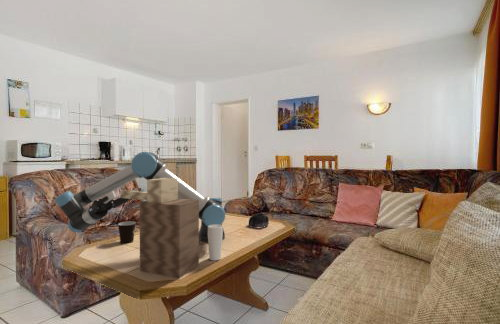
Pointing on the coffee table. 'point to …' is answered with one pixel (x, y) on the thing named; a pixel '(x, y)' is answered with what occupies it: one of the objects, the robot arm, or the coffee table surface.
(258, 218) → the black rounded lump
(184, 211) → the stand
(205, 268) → the coffee table surface
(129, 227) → the coffee mug
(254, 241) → the coffee table surface
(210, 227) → the drinking glass
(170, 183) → the stepped beige block
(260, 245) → the coffee table surface
